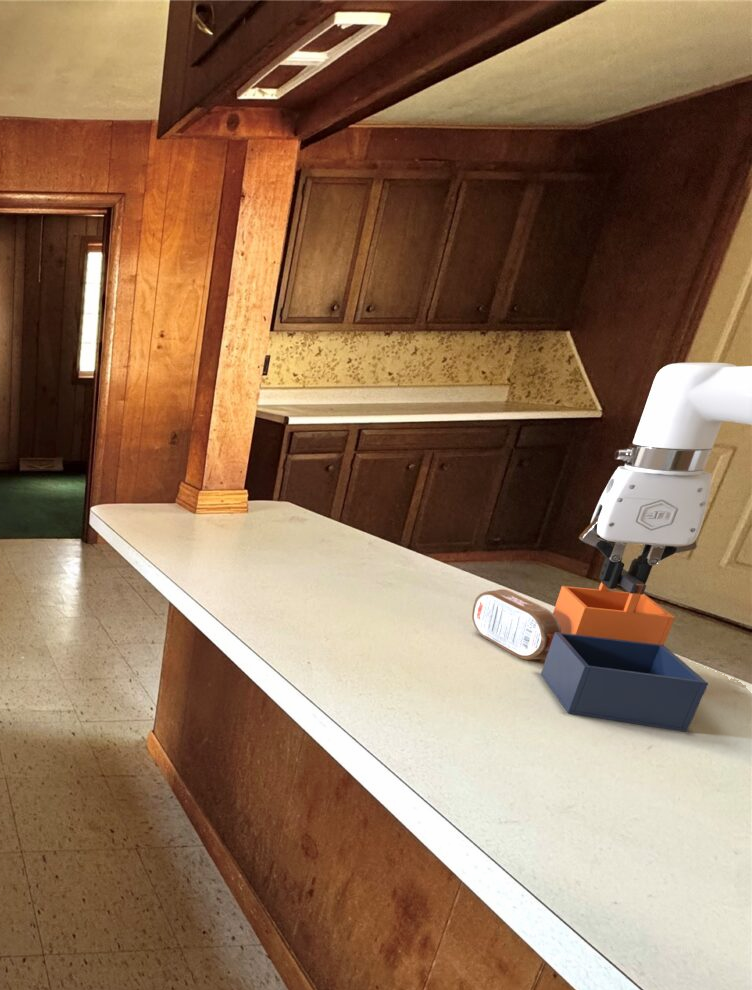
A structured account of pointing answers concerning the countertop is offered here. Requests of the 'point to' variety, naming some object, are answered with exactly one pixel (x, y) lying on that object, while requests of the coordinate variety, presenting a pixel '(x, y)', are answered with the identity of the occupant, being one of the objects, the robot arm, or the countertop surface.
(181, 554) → the countertop surface
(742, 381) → the robot arm
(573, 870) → the countertop surface
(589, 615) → the basket
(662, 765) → the countertop surface
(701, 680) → the bin outer
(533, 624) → the tin
